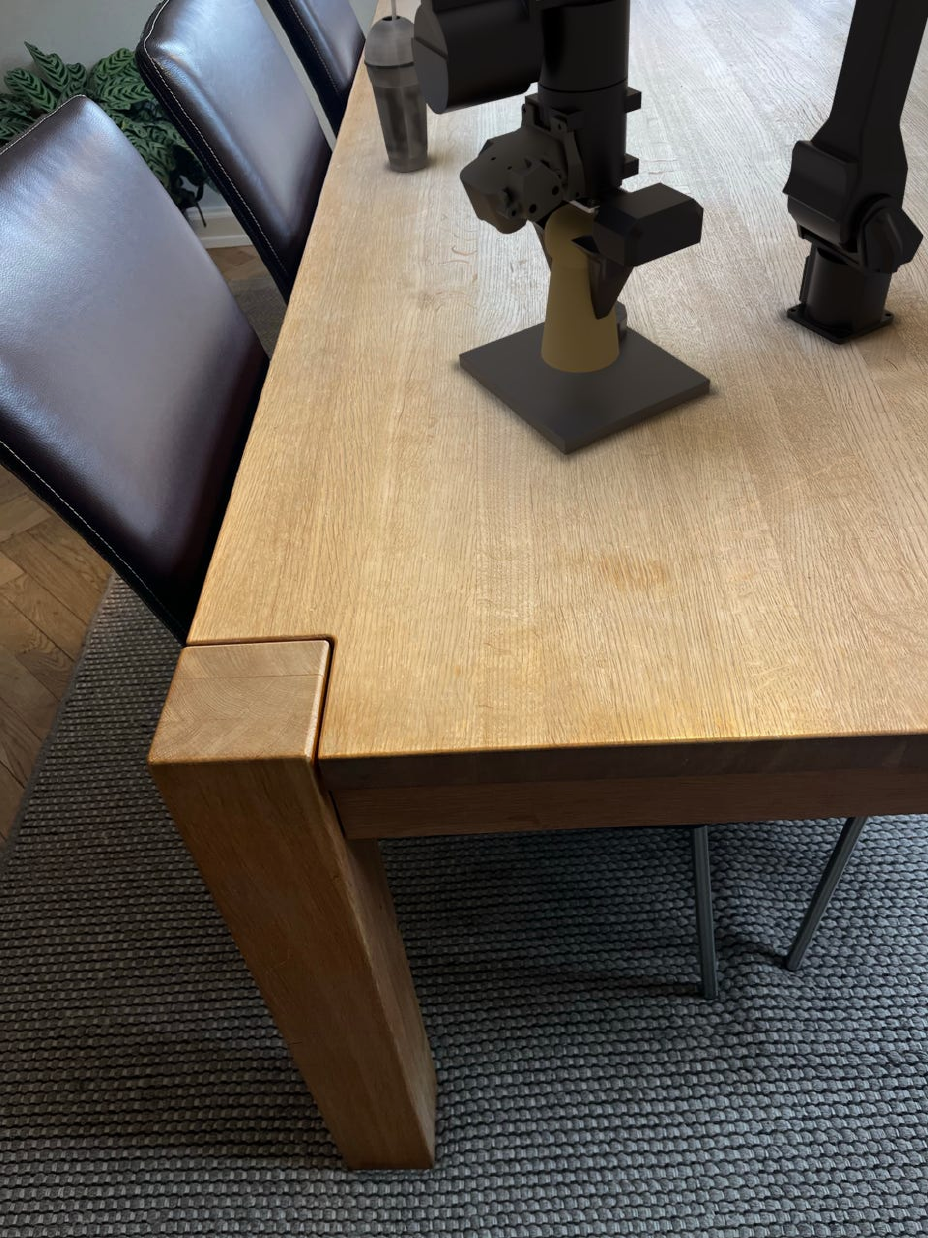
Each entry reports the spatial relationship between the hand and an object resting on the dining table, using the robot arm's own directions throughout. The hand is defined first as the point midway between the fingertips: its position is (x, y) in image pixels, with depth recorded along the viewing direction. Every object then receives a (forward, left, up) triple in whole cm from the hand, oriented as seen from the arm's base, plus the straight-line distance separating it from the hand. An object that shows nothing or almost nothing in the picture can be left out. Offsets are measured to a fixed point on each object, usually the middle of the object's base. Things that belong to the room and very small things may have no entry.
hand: (582, 305), depth 72 cm
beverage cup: (+54, -13, -9) cm, 56 cm away
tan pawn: (0, 0, -4) cm, 4 cm away
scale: (+3, -2, -9) cm, 9 cm away
